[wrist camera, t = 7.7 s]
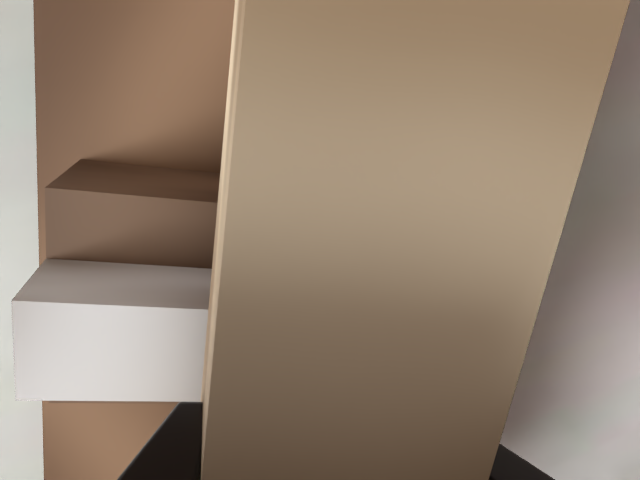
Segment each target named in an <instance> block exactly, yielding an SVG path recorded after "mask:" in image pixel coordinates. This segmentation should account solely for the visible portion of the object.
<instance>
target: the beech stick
mask: <svg viewBox="0 0 640 480" xmlns="http://www.w3.org/2000/svg"><path fill="white" fill-rule="evenodd" d="M629 3H630V0H235V8H234V19H233V31H232V43H231V54H230V66H229V77H228V89H227V100H226V112H225V123H224V135H223V147H222V158H221V170H220V181H219V193H218V204H217V216H216V228H215V239H214V251H213V262H212V274H211V285H210V297H209V308H208V320H207V332H206V343H205V355H204V366H203V378H202V389H201V401H200V402H203V413H202V457H201V477H200V480H489V476H490V473H491V470H492V466H493V463H494V460H495V456H496V453H497V449H498V446H499V443H500V439H501V436H502V432H503V429H504V426H505V422H506V419H507V416H508V412H509V409H510V405H511V402H512V399H513V395H514V392H515V388H516V385H517V382H518V378H519V375H520V372H521V368H522V365H523V361H524V358H525V355H526V351H527V348H528V345H529V341H530V338H531V334H532V331H533V328H534V324H535V321H536V317H537V314H538V311H539V307H540V304H541V301H542V297H543V294H544V290H545V287H546V284H547V280H548V277H549V273H550V270H551V267H552V263H553V260H554V257H555V253H556V250H557V246H558V243H559V240H560V236H561V233H562V230H563V226H564V223H565V219H566V216H567V213H568V209H569V206H570V202H571V199H572V196H573V192H574V189H575V186H576V182H577V179H578V175H579V172H580V169H581V165H582V162H583V158H584V155H585V152H586V148H587V145H588V142H589V138H590V135H591V131H592V128H593V125H594V121H595V118H596V115H597V111H598V108H599V104H600V101H601V98H602V94H603V91H604V87H605V84H606V81H607V77H608V74H609V71H610V67H611V64H612V60H613V57H614V54H615V50H616V47H617V43H618V40H619V37H620V33H621V30H622V27H623V23H624V20H625V16H626V13H627V10H628V6H629Z"/></svg>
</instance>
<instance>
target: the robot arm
mask: <svg viewBox="0 0 640 480" xmlns="http://www.w3.org/2000/svg"><path fill="white" fill-rule="evenodd" d="M202 413H203V402H179V403H178V404H177V405H176V406H175V407H174V409H173V410H172V411H171V412H170V414H169V415H168V416H167V417H166V419H165V420H164V421H163V422H162V424H161V425H160V426H159V427H158V429H157V430H156V431H155V432H154V434H153V435H152V436H151V437H150V439H149V440H148V441H147V442H146V444H145V445H144V446H143V447H142V449H141V450H140V451H139V452H138V454H137V455H136V456H135V457H134V459H133V460H132V461H131V462H130V464H129V465H128V466H127V467H126V469H125V470H124V471H123V472H122V474H121V475H120V476H119V477H118V479H117V480H200V477H201V457H202ZM489 480H555V479H553V478H552V477H550V476H549V475H547V474H545V473H544V472H542V471H541V470H539V469H538V468H536V467H535V466H533V465H532V464H530V463H529V462H527V461H526V460H524V459H522V458H521V457H519V456H518V455H516V454H515V453H513V452H512V451H510V450H509V449H507V448H506V447H504V446H502V445H501V444H499V446H498V449H497V453H496V456H495V460H494V463H493V466H492V470H491V473H490V476H489Z"/></svg>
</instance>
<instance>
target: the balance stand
mask: <svg viewBox="0 0 640 480" xmlns="http://www.w3.org/2000/svg"><path fill="white" fill-rule="evenodd" d="M33 2H34V47H35V93H36V138H37V184H38V229H39V268H38V269H37V270H36V271H35V273H34V274H33V275H32V276H31V278H30V279H29V280H28V281H27V282H26V284H25V285H24V286H23V287H22V288H21V290H20V291H19V292H18V293H17V295H16V296H15V297H14V298H13V299H12V301H11V302H12V327H13V352H14V377H15V400H31V401H42V411H43V456H44V480H117V479H118V477H119V476H120V475H121V474H122V472H123V471H124V470H125V469H126V467H127V466H128V465H129V464H130V462H131V461H132V460H133V459H134V457H135V456H136V455H137V454H138V452H139V451H140V450H141V449H142V447H143V446H144V445H145V444H146V442H147V441H148V440H149V439H150V437H151V436H152V435H153V434H154V432H155V431H156V430H157V429H158V427H159V426H160V425H161V424H162V422H163V421H164V420H165V419H166V417H167V416H168V415H169V414H170V412H171V411H172V410H173V409H174V407H175V406H176V405H177V404H178V403H179V402H200V401H201V389H202V378H203V366H204V355H205V343H206V332H207V320H208V308H209V297H210V285H211V274H212V262H213V251H214V239H215V228H216V216H217V204H218V193H219V181H220V170H221V158H222V147H223V135H224V123H225V112H226V100H227V89H228V77H229V66H230V54H231V43H232V31H233V19H234V8H235V0H33Z"/></svg>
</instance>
